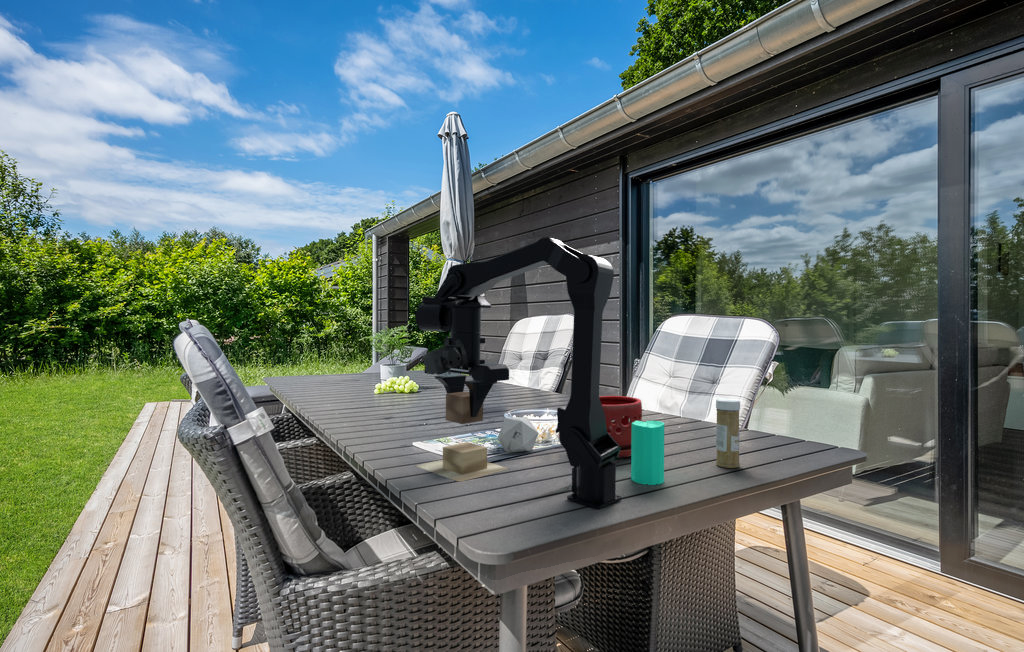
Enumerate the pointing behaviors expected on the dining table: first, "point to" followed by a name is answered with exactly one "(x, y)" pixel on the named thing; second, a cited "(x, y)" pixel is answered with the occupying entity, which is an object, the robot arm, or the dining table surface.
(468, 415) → the walnut cube
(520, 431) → the die
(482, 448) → the oak block
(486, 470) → the building board
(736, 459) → the sprinkles bottle
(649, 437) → the candle
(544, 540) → the dining table surface
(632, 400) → the plant pot
